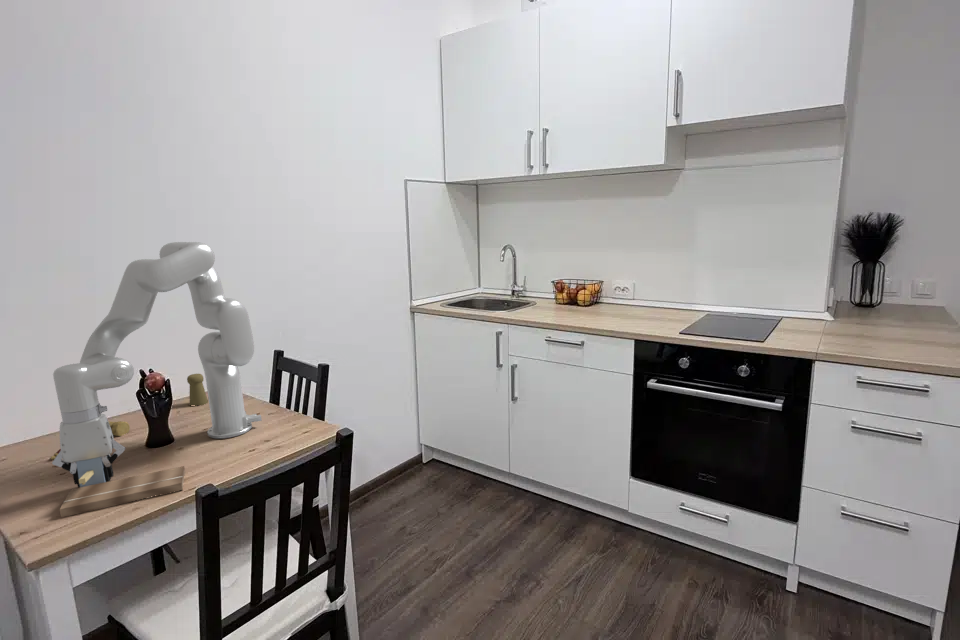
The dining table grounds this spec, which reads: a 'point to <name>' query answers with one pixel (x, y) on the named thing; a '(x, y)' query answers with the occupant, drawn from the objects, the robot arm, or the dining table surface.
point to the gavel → (116, 428)
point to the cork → (197, 390)
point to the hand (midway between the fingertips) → (95, 482)
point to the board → (122, 491)
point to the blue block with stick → (90, 472)
